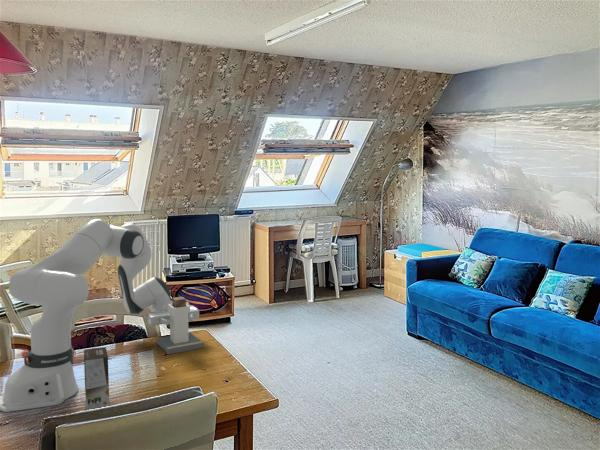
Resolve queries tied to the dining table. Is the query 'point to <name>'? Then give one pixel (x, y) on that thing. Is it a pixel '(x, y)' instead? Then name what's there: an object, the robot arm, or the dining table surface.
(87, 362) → the coffee box
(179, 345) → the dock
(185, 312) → the white tall block
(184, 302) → the block
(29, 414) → the dining table surface
